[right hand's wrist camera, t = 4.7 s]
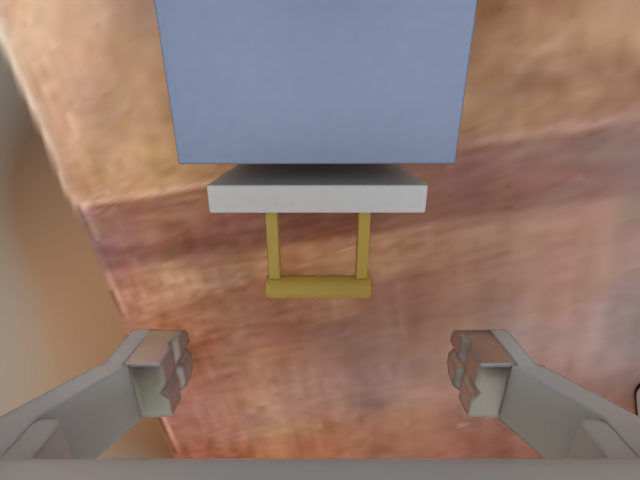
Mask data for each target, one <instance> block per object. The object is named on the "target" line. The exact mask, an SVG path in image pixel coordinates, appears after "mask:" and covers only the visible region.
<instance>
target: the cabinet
mask: <svg viewBox="0 0 640 480" xmlns="http://www.w3.org/2000/svg"><path fill="white" fill-rule="evenodd" d="M154 1H155V7H156V14H157V21H158V27H159V34H160V41H161V47H162V54H163V61H164V67H165V74H166V81H167V87H168V94H169V100H170V107H171V114H172V120H173V127H174V134H175V140H176V147H177V154H178V160H179V163H180V164H453V163H455V158H456V150H457V143H458V136H459V129H460V122H461V115H462V107H463V100H464V93H465V86H466V79H467V72H468V64H469V57H470V50H471V43H472V36H473V29H474V21H475V14H476V7H477V0H154Z"/></svg>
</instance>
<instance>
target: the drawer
mask: <svg viewBox="0 0 640 480" xmlns="http://www.w3.org/2000/svg"><path fill="white" fill-rule="evenodd" d="M427 190H428V186H427V185H426V184H425V183H424V182H422V181H421V180H420V179H418V178H417V177H415V176H414V175H413V174H411V173H410V172H409V171H407V170H406V169H405V168H403V167H402V166H401V165H399V164H238V165H237V166H235V167H234V168H232V169H231V170H229V171H228V172H226V173H225V174H223V175H222V176H220V177H219V178H217V179H216V180H214V181H213V182H212V183H210V184H209V185H207V194H208V202H209V210H210V212H211V213H265V222H266V238H267V254H268V269H269V276H267V277H266V281H265V295H266V298H370V296H371V279H370V276H367V274H368V255H369V237H370V218H371V213H423V212H425V207H426V198H427ZM278 213H358V215H357V240H356V265H355V275H356V276H281V256H280V236H279V215H278Z"/></svg>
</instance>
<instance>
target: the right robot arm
mask: <svg viewBox="0 0 640 480" xmlns="http://www.w3.org/2000/svg"><path fill="white" fill-rule="evenodd" d="M188 343H189V337H188V332H186V331H185V330H165V329H153V330H152V329H136V330H133V331H132V332H131V333H130V334H129V335H128V337H127V338H126V339H125V340H124V341H123V343H122V344H121V345H120V346H119V347H118V348H117V350H116V351H115V352H114V353H113V354H112V355H111V357H110V358H109V359H108V360H107V361H106V363H105V364H104V365H98V366H96V367H94V368H92V369H90V370H88V371H86V372H84V373H82V374H80V375H79V376H77V377H75V378H73V379H71V380H69V381H67V382H65V383H63V384H61V385H60V386H58V387H56V388H54V389H52V390H50V391H48V392H46V393H44V394H43V395H41V396H39V397H37V398H35V399H33V400H31V401H29V402H27V403H26V404H24V405H22V406H20V407H18V408H16V409H14V410H12V411H10V412H9V413H7V414H5V415H3V416H1V417H0V480H640V388H639V389H638V391H637V393H636V400H637V413H638V416H637V415H635V414H633V413H631V412H629V411H628V410H626V409H624V408H622V407H620V406H618V405H616V404H614V403H612V402H611V401H609V400H607V399H605V398H603V397H601V396H599V395H597V394H595V393H594V392H592V391H590V390H588V389H586V388H584V387H582V386H580V385H578V384H577V383H575V382H573V381H571V380H569V379H567V378H565V377H563V376H561V375H560V374H558V373H556V372H554V371H552V370H550V369H548V368H546V367H544V366H542V365H536V364H535V363H534V361H533V360H532V359H531V358H530V357H529V355H528V354H527V353H526V352H525V351H524V350H523V348H522V347H521V346H520V345H519V344H518V343H517V341H516V340H515V339H514V338H513V337H512V335H511V334H510V333H509V332H508V331H507V330H505V329H487V330H454V331H453V333H452V336H451V343H452V345H453V347H454V348H453V349H452V350H451V351H450V352H449V354H448V361H447V365H448V373H449V377H450V380H451V382H452V384H453V386H454V387H456V388H457V389H459V390H460V394H459V399H460V401H461V403H462V405H463V407H464V409H465V411H466V413H467V415H468V417H499V420H500V421H502V422H503V423H504V424H505V425H506V426H507V427H509V428H510V429H511V430H512V431H513V432H514V433H515V434H517V435H518V436H519V437H520V438H521V439H522V440H523V441H525V442H526V443H527V444H528V445H529V446H530V447H532V448H533V449H534V450H535V451H536V452H537V453H538V454H540V455H541V456H542V457H543V458H533V459H375V458H349V459H96V458H97V457H98V456H99V455H100V454H102V453H103V452H104V451H105V450H106V449H107V448H109V447H110V446H111V445H112V444H113V443H114V442H115V441H117V440H118V439H119V438H120V437H121V436H122V435H124V434H125V433H126V432H127V431H128V430H129V429H130V428H132V427H133V426H134V425H135V424H136V423H137V422H139V421H140V420H141V417H172V415H173V413H174V411H175V409H176V407H177V405H178V403H179V401H180V399H181V394H180V390H181V389H183V388H184V387H185V386H187V384H188V382H189V380H190V377H191V372H192V362H193V360H192V354H191V352H190V351H189V350H188V349H187V348H186V347H187V345H188Z"/></svg>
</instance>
